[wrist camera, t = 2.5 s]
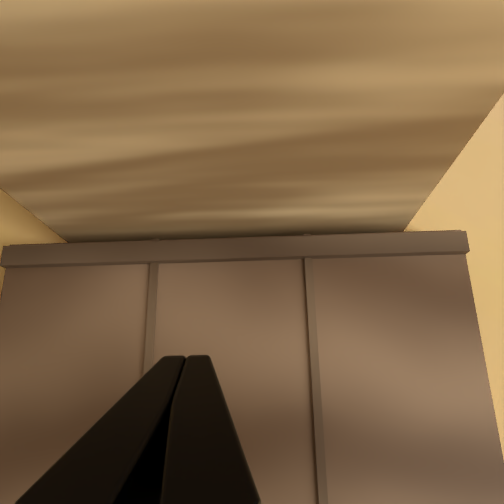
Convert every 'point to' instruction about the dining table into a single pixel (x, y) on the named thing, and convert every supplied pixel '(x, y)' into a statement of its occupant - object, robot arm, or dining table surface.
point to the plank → (239, 112)
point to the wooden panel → (264, 357)
